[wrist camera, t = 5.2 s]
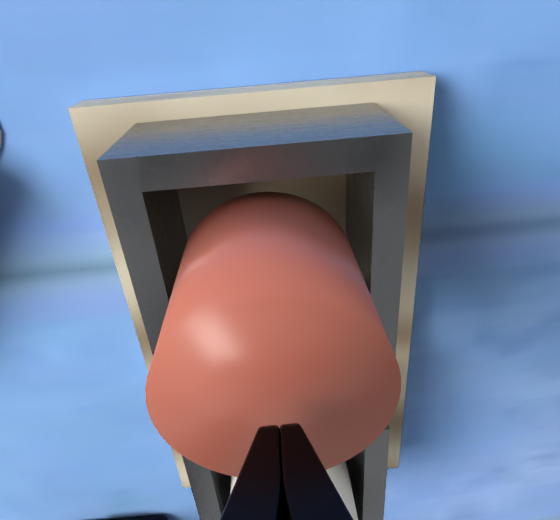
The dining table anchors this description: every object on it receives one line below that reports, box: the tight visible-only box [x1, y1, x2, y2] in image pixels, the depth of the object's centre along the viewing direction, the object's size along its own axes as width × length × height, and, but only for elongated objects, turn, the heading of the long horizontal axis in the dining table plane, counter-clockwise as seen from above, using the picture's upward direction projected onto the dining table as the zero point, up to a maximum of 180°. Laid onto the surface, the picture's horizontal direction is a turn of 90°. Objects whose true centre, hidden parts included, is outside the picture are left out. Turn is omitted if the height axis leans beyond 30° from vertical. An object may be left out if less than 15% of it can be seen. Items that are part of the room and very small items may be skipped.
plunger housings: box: [96, 102, 413, 520], centre depth 19 cm, size 21×9×4 cm, turn 4°
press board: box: [68, 71, 436, 488], centre depth 22 cm, size 22×13×2 cm, turn 4°
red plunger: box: [146, 192, 401, 477], centre depth 12 cm, size 6×6×6 cm
